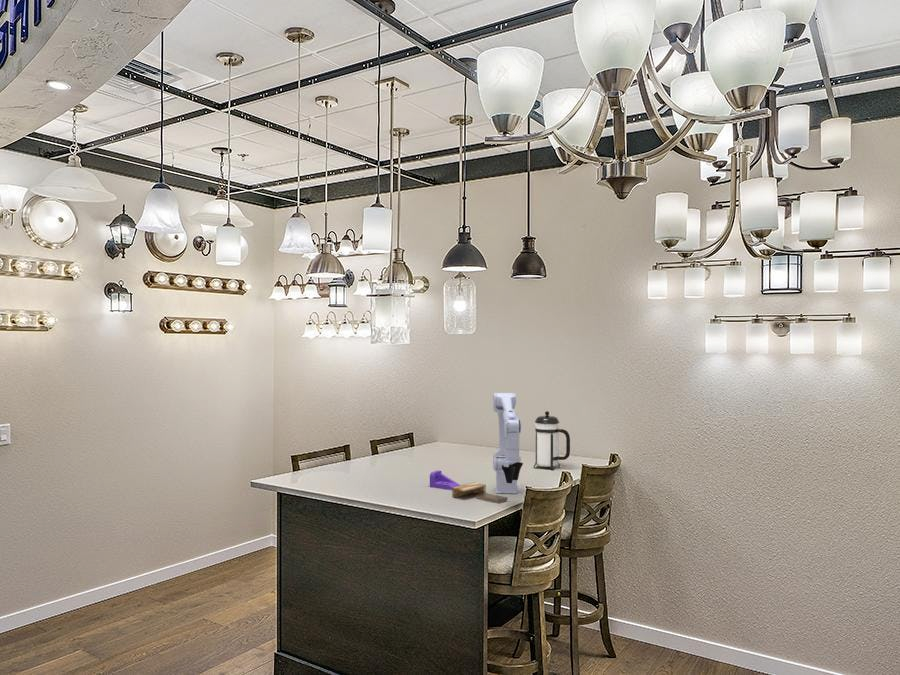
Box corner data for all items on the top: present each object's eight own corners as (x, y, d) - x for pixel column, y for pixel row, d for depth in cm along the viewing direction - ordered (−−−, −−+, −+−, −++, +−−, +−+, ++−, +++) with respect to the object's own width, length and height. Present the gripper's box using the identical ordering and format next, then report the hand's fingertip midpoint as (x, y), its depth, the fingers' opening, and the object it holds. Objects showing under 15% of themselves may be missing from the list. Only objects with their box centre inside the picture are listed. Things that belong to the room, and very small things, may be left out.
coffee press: (538, 471, 340) (539, 413, 340) (529, 465, 356) (529, 409, 356) (570, 470, 344) (570, 412, 344) (559, 464, 359) (559, 409, 360)
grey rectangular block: (507, 502, 278) (507, 497, 278) (498, 504, 273) (498, 499, 273) (485, 497, 286) (485, 492, 286) (476, 499, 281) (476, 495, 281)
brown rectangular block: (485, 494, 289) (485, 484, 289) (464, 499, 279) (464, 489, 279) (473, 491, 294) (473, 482, 294) (452, 497, 284) (452, 487, 284)
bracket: (429, 487, 303) (429, 472, 303) (437, 484, 309) (437, 470, 309) (452, 490, 297) (452, 475, 297) (459, 488, 303) (459, 473, 303)
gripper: (509, 445, 280) (509, 477, 280) (496, 450, 267) (496, 483, 267) (525, 446, 277) (525, 478, 277) (513, 451, 264) (512, 485, 264)
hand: (512, 481), depth 272 cm, fingers open, 6 cm apart
